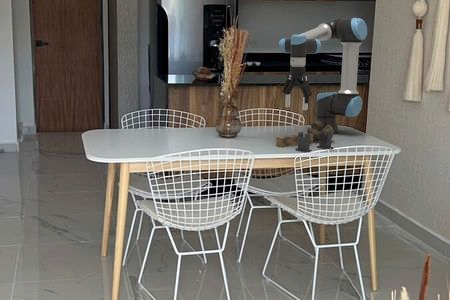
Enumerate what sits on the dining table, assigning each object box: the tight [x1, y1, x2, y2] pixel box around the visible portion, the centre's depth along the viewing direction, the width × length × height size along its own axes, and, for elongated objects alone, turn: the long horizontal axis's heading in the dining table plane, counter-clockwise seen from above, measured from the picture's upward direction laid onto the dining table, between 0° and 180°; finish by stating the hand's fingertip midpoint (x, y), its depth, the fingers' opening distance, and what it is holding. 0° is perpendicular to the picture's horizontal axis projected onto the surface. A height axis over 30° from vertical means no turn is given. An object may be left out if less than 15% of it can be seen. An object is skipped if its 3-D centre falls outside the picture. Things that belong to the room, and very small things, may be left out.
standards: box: [294, 130, 334, 153], centre depth 290 cm, size 18×7×9 cm, turn 123°
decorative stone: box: [306, 120, 335, 143], centre depth 315 cm, size 16×11×15 cm
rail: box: [275, 133, 314, 148], centre depth 303 cm, size 22×4×5 cm, turn 125°
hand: (296, 108), depth 300 cm, fingers open, 13 cm apart
